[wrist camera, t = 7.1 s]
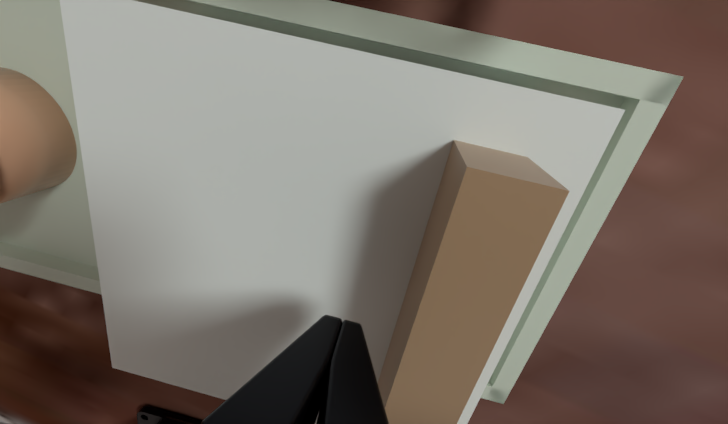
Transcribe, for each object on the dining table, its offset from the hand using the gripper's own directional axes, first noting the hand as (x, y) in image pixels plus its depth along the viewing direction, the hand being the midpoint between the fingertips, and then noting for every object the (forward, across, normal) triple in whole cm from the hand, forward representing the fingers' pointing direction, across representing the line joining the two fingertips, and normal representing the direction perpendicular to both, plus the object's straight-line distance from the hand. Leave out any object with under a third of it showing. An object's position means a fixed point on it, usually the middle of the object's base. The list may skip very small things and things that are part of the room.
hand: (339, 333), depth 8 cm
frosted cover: (+6, +2, 0) cm, 6 cm away
